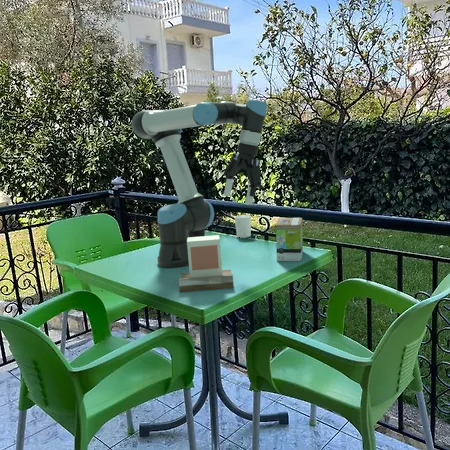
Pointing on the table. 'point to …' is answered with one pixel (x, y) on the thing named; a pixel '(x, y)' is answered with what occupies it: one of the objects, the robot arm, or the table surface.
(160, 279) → the table surface
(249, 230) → the white cup
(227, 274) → the shelf board
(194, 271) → the cream carton
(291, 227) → the tea box
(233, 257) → the table surface
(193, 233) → the mug
